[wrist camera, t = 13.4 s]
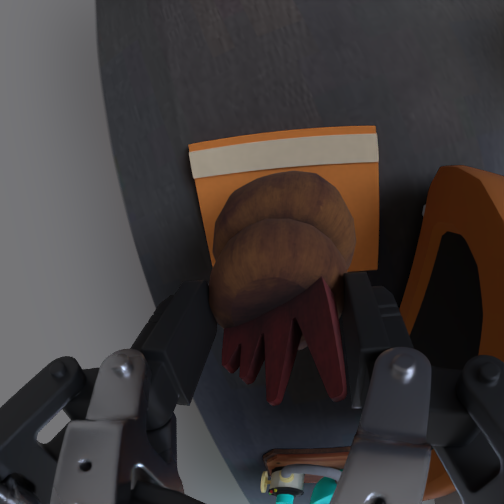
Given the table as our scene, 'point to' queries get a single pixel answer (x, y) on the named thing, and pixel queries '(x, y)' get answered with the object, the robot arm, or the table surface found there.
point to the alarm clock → (457, 283)
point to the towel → (296, 159)
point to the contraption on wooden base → (303, 472)
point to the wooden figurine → (282, 278)
